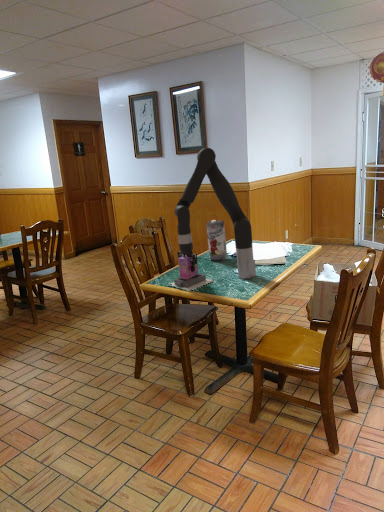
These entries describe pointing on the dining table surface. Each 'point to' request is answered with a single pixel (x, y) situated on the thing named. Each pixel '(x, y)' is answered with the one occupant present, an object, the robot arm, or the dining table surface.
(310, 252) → the dining table surface
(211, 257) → the juice carton
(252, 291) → the dining table surface
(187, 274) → the box
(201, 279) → the board
